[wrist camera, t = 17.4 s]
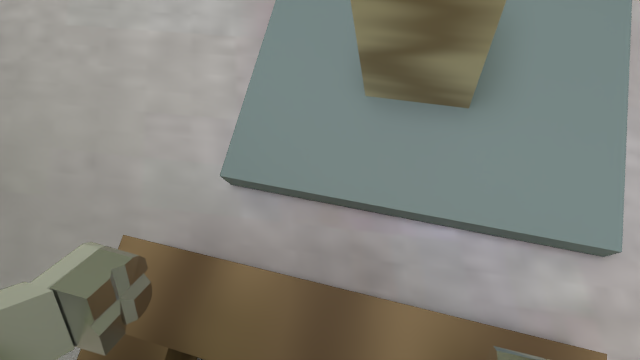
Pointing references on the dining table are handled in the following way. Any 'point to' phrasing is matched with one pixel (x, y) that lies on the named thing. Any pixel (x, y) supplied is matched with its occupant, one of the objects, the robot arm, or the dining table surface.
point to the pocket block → (293, 319)
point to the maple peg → (424, 47)
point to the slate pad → (450, 126)
